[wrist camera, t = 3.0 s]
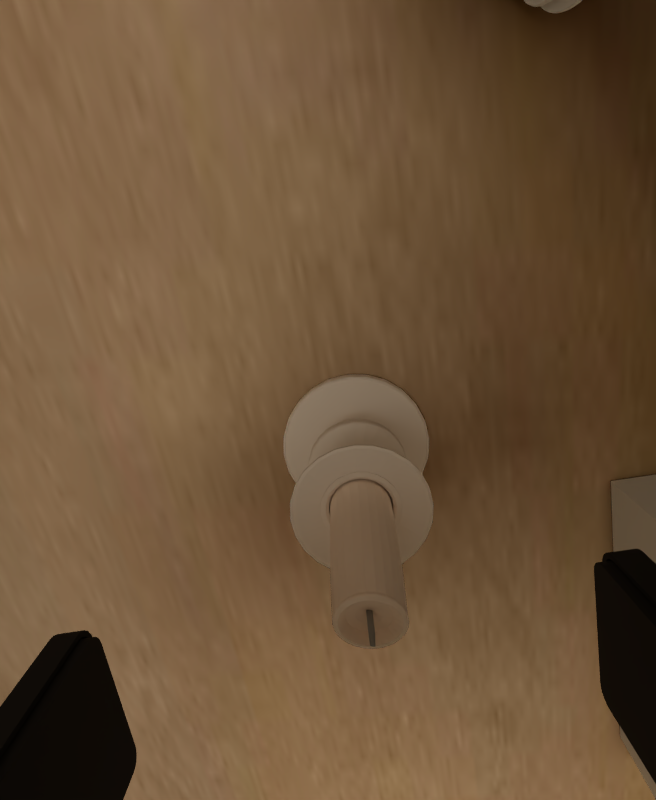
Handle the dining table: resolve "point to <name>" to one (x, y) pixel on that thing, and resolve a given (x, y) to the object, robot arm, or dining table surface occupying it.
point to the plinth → (635, 545)
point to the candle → (360, 498)
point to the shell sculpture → (553, 5)
